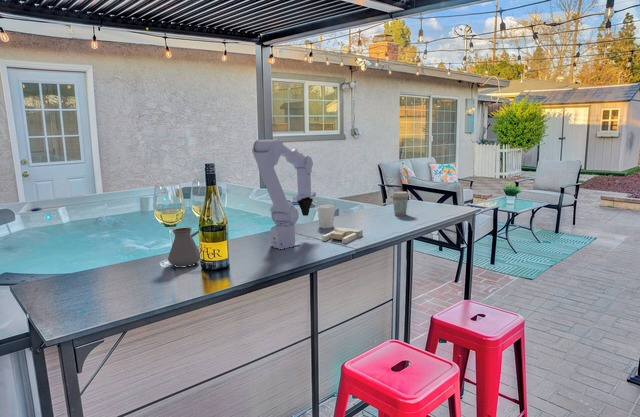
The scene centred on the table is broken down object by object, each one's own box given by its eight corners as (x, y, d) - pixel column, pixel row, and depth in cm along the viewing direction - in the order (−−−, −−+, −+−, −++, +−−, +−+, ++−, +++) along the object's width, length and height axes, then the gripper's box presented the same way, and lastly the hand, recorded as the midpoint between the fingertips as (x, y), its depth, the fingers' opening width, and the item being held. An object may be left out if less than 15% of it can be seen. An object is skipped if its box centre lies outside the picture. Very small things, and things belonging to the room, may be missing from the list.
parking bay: (346, 243, 172) (346, 237, 172) (321, 240, 178) (321, 234, 178) (362, 235, 184) (362, 229, 184) (338, 232, 190) (338, 227, 190)
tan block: (341, 241, 176) (341, 234, 175) (330, 240, 178) (330, 233, 178) (349, 237, 181) (349, 230, 181) (339, 236, 184) (338, 229, 184)
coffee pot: (175, 272, 145) (170, 229, 142) (164, 264, 154) (159, 223, 151) (232, 258, 158) (229, 219, 155) (219, 252, 167) (216, 214, 164)
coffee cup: (388, 214, 226) (388, 192, 223) (402, 212, 229) (402, 190, 227) (398, 217, 218) (398, 194, 216) (411, 215, 222) (412, 192, 219)
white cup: (315, 228, 201) (314, 207, 199) (322, 224, 208) (322, 204, 206) (330, 229, 198) (329, 208, 196) (337, 225, 204) (336, 205, 203)
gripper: (301, 186, 173) (303, 219, 176) (321, 182, 185) (322, 212, 188) (288, 186, 177) (289, 218, 180) (307, 181, 189) (309, 211, 192)
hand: (305, 215), depth 184 cm, fingers closed
